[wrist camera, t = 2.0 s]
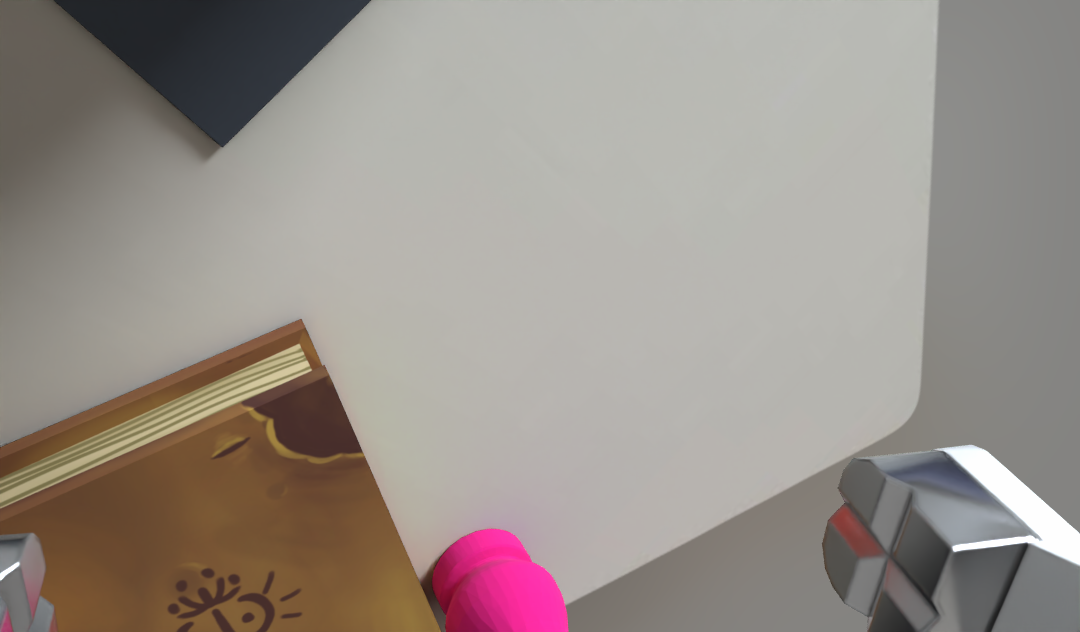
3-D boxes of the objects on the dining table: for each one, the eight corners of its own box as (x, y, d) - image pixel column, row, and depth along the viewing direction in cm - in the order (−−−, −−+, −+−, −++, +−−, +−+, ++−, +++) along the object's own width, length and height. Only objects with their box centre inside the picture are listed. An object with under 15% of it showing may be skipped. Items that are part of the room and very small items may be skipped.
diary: (-95, 485, 42) (-111, 570, 37) (300, 317, 47) (328, 374, 42) (136, 761, 55) (145, 850, 50) (428, 608, 60) (460, 676, 55)
